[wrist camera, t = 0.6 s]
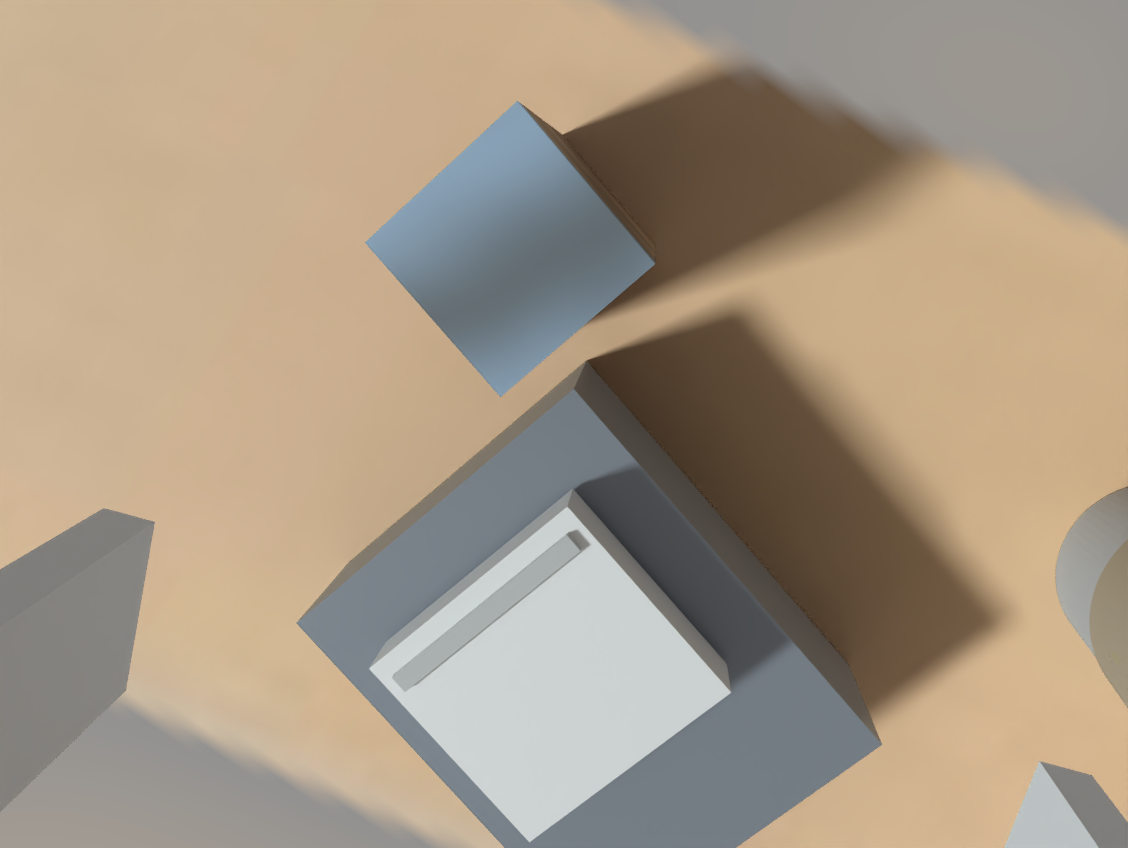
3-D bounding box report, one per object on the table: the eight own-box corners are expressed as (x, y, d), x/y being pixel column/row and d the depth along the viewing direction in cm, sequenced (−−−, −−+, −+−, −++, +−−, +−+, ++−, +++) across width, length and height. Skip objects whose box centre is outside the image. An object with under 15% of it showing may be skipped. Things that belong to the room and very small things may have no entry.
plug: (456, 231, 37) (365, 242, 26) (562, 134, 36) (517, 100, 25) (548, 337, 38) (500, 396, 26) (655, 245, 37) (655, 263, 25)
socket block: (348, 562, 40) (296, 622, 34) (586, 360, 38) (573, 388, 32) (604, 842, 42) (596, 946, 36) (848, 664, 39) (882, 744, 34)
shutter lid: (385, 642, 34) (366, 672, 32) (572, 488, 32) (566, 509, 30) (536, 806, 35) (528, 847, 32) (726, 664, 33) (731, 697, 31)
